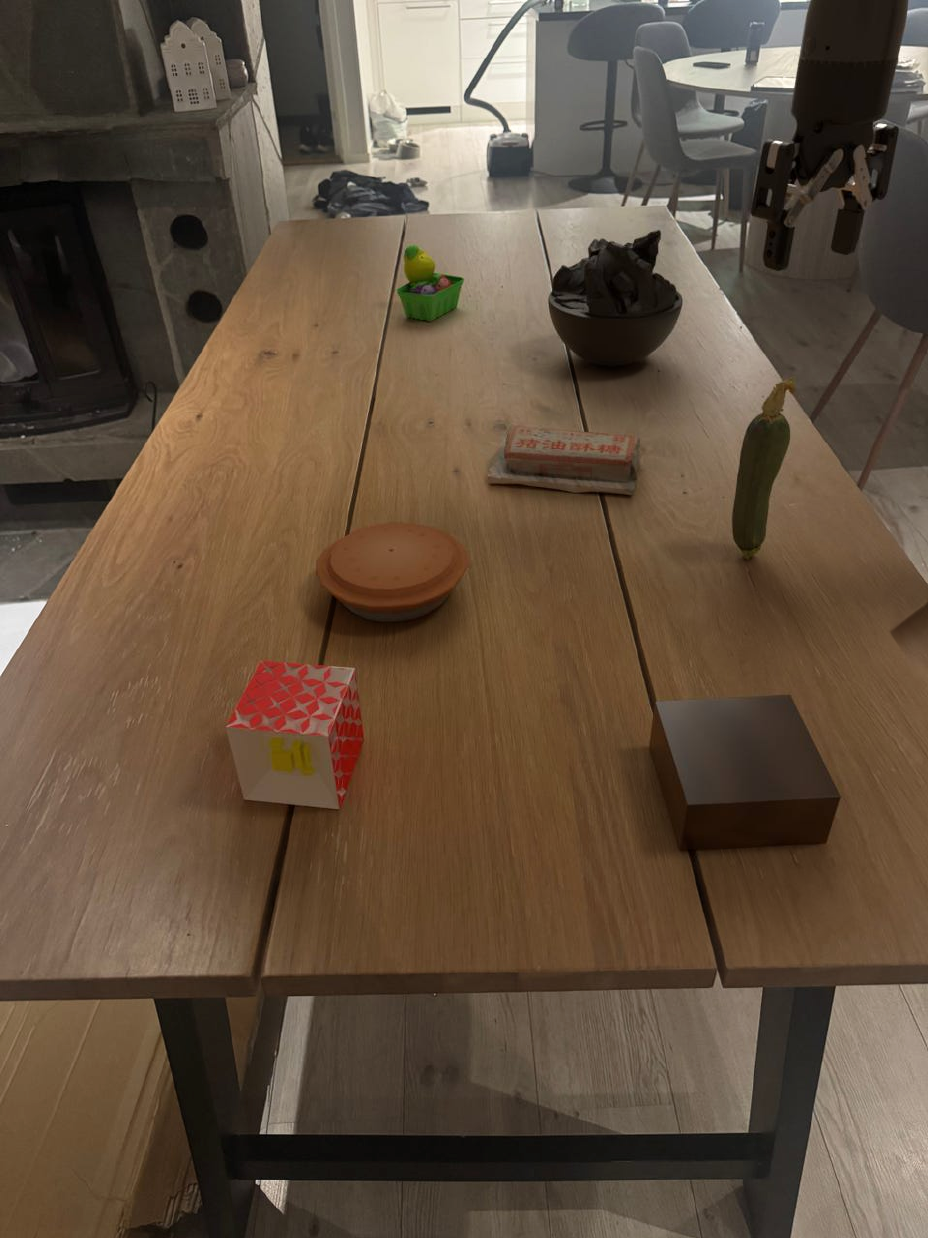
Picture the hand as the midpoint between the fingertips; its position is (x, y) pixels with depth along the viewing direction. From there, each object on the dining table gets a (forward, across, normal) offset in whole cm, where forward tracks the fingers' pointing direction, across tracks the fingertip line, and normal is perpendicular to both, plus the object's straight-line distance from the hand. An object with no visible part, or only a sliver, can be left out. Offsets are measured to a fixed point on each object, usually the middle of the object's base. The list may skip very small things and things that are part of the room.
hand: (809, 260), depth 84 cm
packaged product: (+30, -8, +25) cm, 40 cm away
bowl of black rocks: (+30, +20, +51) cm, 62 cm away
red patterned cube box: (+30, -56, -5) cm, 64 cm away
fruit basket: (+30, +8, +88) cm, 93 cm away
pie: (+30, -38, +14) cm, 50 cm away
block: (+30, -28, -26) cm, 48 cm away
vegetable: (+30, -2, -1) cm, 30 cm away
